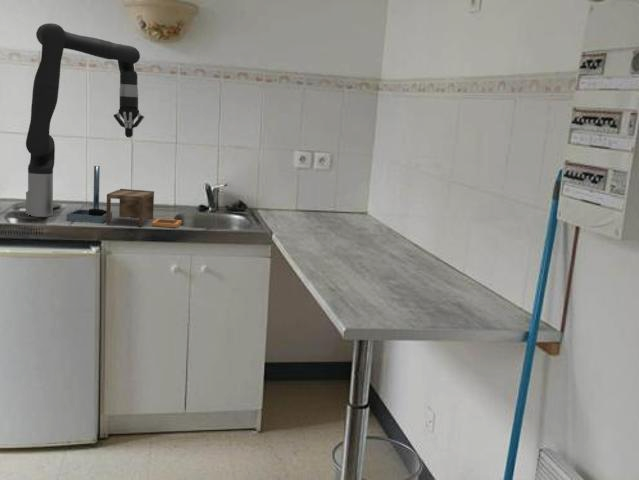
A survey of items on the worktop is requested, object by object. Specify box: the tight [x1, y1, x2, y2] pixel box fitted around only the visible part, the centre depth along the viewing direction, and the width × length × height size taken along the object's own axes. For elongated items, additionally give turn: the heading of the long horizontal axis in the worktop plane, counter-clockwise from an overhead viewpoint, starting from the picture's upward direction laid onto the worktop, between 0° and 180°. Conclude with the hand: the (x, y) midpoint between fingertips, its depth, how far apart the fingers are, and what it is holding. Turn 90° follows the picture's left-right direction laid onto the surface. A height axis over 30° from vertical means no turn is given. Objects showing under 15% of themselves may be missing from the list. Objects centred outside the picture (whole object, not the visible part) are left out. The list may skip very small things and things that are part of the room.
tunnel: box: [105, 188, 155, 228], centre depth 272 cm, size 14×20×12 cm
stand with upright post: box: [65, 165, 113, 223], centre depth 271 cm, size 14×16×21 cm
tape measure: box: [88, 208, 107, 216], centre depth 273 cm, size 7×7×4 cm
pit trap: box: [151, 218, 183, 229], centre depth 273 cm, size 10×11×2 cm
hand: (129, 137), depth 285 cm, fingers closed
